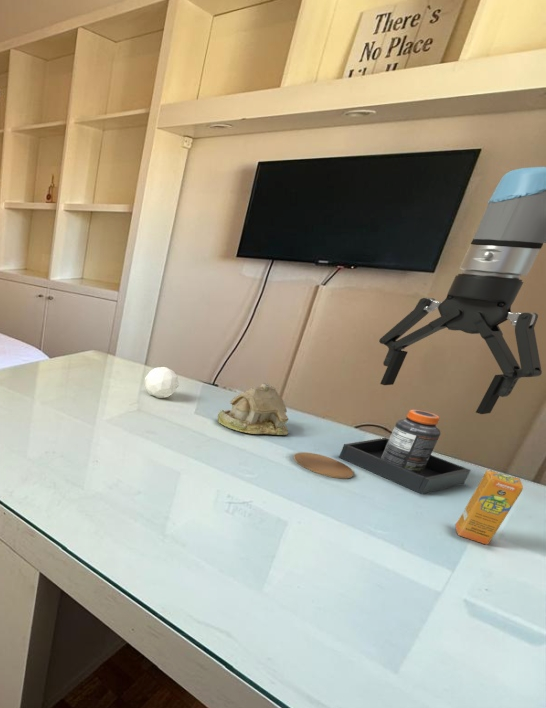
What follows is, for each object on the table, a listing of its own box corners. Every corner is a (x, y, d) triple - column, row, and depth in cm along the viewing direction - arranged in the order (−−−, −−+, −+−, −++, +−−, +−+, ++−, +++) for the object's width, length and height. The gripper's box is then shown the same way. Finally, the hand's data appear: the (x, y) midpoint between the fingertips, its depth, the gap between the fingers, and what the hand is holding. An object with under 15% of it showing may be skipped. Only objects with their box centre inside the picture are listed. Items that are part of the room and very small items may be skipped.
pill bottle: (416, 467, 86) (442, 412, 82) (425, 480, 81) (453, 422, 77) (375, 457, 89) (399, 404, 85) (382, 469, 84) (407, 413, 80)
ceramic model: (252, 414, 108) (265, 374, 104) (298, 435, 98) (314, 391, 94) (207, 418, 103) (218, 376, 100) (250, 440, 93) (265, 395, 90)
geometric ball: (146, 404, 117) (135, 375, 118) (176, 394, 117) (164, 366, 118) (157, 400, 109) (145, 369, 111) (189, 389, 109) (176, 359, 111)
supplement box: (456, 535, 66) (489, 476, 63) (454, 526, 69) (485, 468, 65) (489, 547, 64) (525, 486, 61) (486, 536, 67) (520, 477, 63)
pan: (463, 484, 82) (471, 469, 81) (421, 494, 77) (428, 479, 76) (379, 450, 93) (385, 437, 92) (338, 457, 89) (344, 444, 88)
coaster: (364, 475, 82) (365, 473, 82) (332, 481, 79) (333, 479, 79) (313, 452, 90) (314, 450, 90) (282, 457, 87) (283, 455, 87)
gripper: (386, 264, 82) (341, 375, 90) (602, 286, 61) (520, 429, 68) (410, 266, 85) (365, 373, 92) (625, 287, 63) (544, 425, 71)
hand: (431, 397), depth 80 cm, fingers open, 13 cm apart
